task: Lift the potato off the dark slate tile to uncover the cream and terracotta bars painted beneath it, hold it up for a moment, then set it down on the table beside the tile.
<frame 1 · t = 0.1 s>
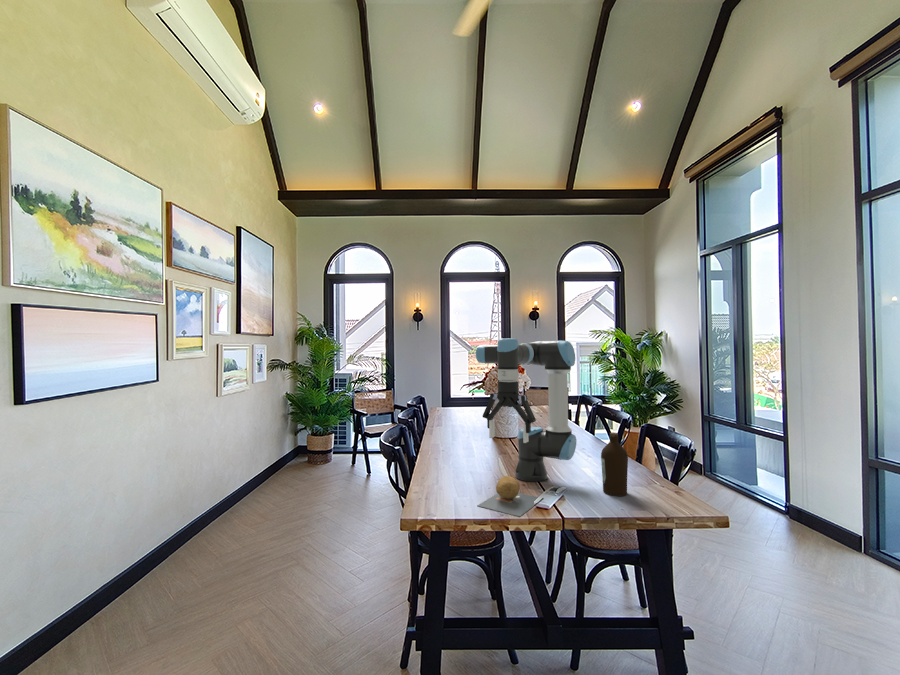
hand: (508, 439, 147), 28 cm above the table, tool pointing down, fingers open, 13 cm apart
code tile: (511, 502, 161), on the table
olive oil: (614, 493, 172), on the table
potato: (507, 498, 166), resting on code tile
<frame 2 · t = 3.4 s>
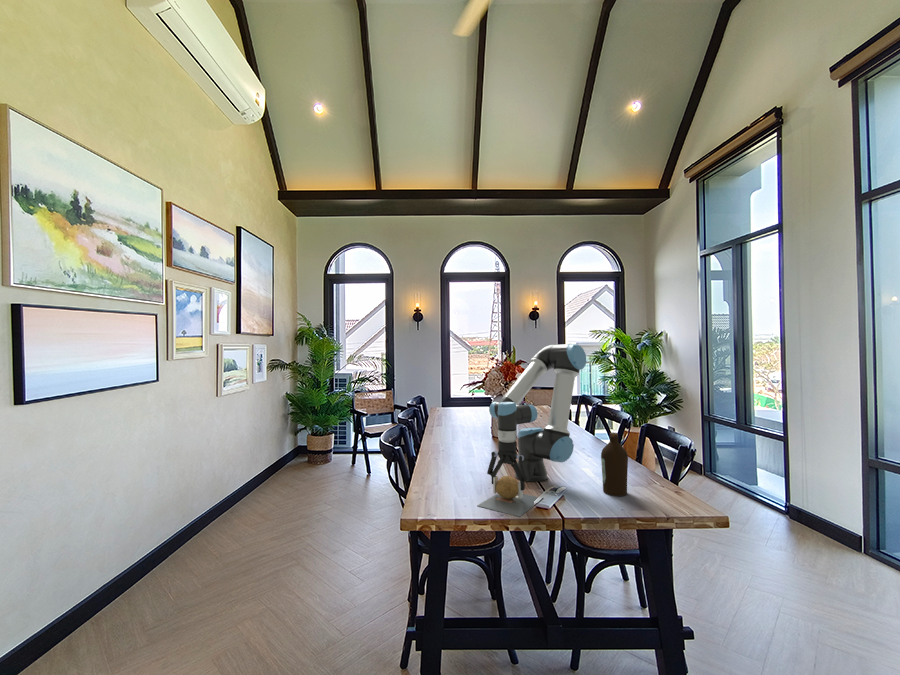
hand: (507, 495, 166), 1 cm above the table, tool pointing down, fingers closed on potato, 10 cm apart
potato: (507, 498, 166), resting on code tile, touching gripper
everything else where it was.
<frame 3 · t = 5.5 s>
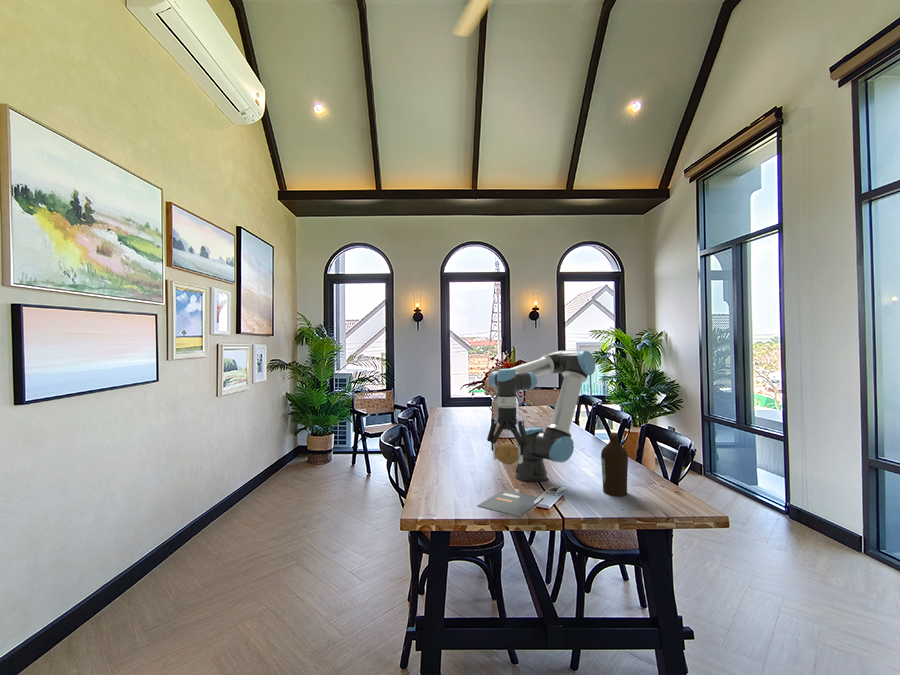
hand: (507, 460, 166), 15 cm above the table, tool pointing down, fingers closed on potato, 10 cm apart
potato: (507, 463, 166), point 14 cm above the table, touching gripper
everything else where it was.
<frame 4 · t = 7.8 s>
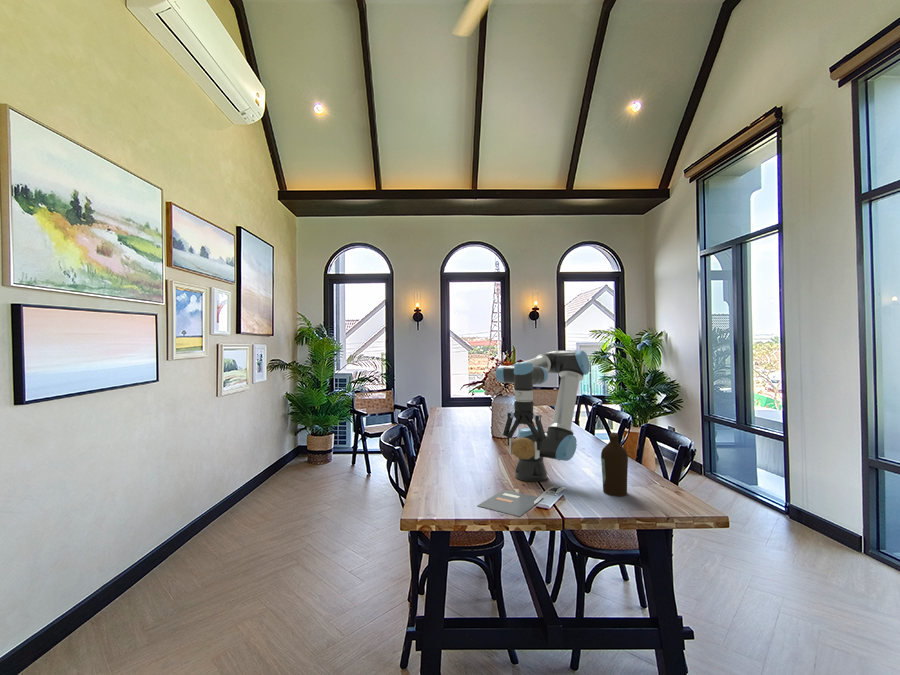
hand: (524, 456, 163), 18 cm above the table, tool pointing down, fingers closed on potato, 10 cm apart
potato: (523, 459, 163), point 17 cm above the table, touching gripper
everything else where it was.
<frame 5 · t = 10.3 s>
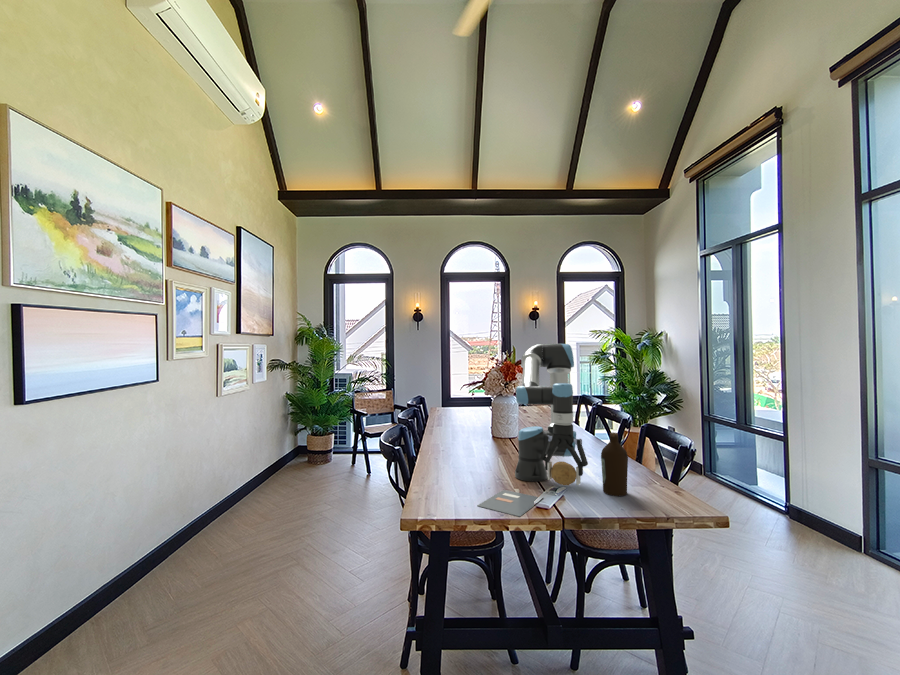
hand: (563, 481, 156), 10 cm above the table, tool pointing down, fingers closed on potato, 10 cm apart
potato: (563, 484, 156), point 9 cm above the table, touching gripper
everything else where it was.
when the fingers open (3 cm above the table, at t = 12.2 s): potato drops 2 cm, on the table.
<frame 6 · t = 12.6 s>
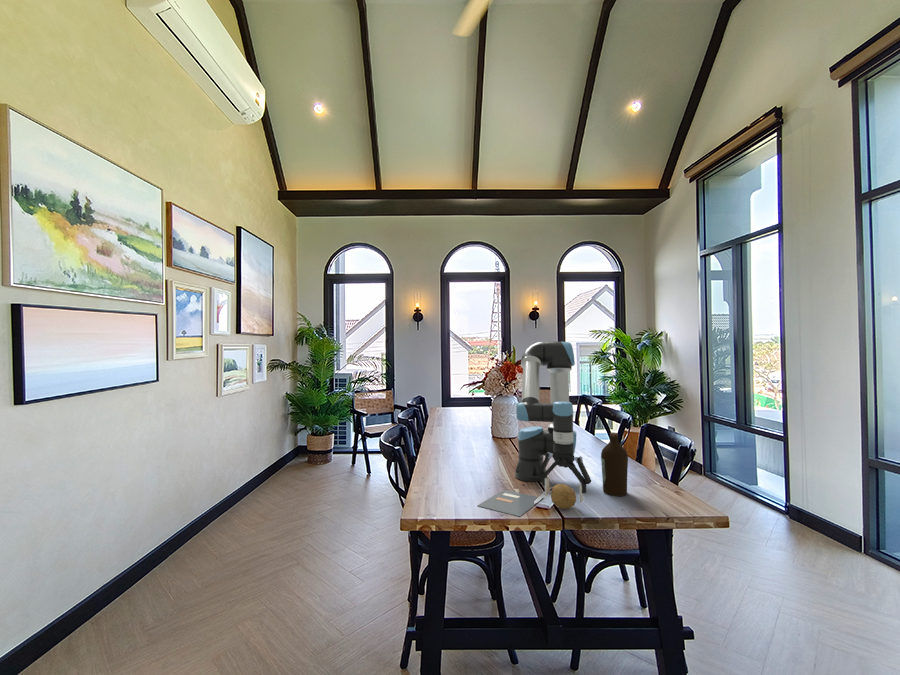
hand: (564, 498, 156), 4 cm above the table, tool pointing down, fingers open, 13 cm apart
potato: (563, 507, 156), on the table
everything else where it was.
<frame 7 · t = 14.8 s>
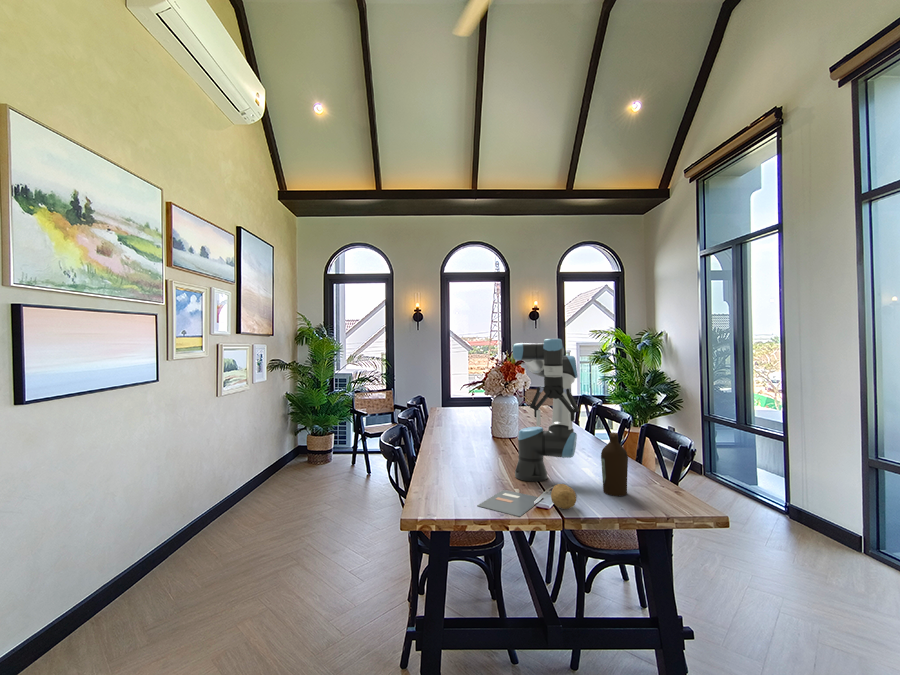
hand: (554, 427, 169), 28 cm above the table, tool pointing down, fingers open, 13 cm apart
nothing on the table moved.
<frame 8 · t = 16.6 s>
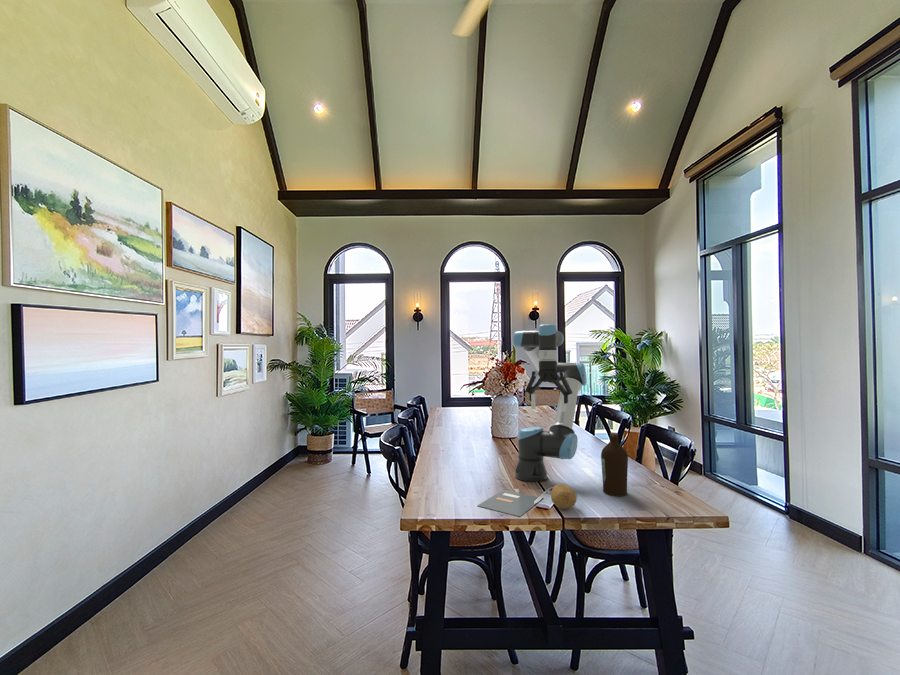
hand: (548, 410, 174), 35 cm above the table, tool pointing down, fingers open, 13 cm apart
nothing on the table moved.
at the end: potato inside the target area (0.3 cm from its centre), on the table; potato touching table; the gripper is holding nothing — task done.
